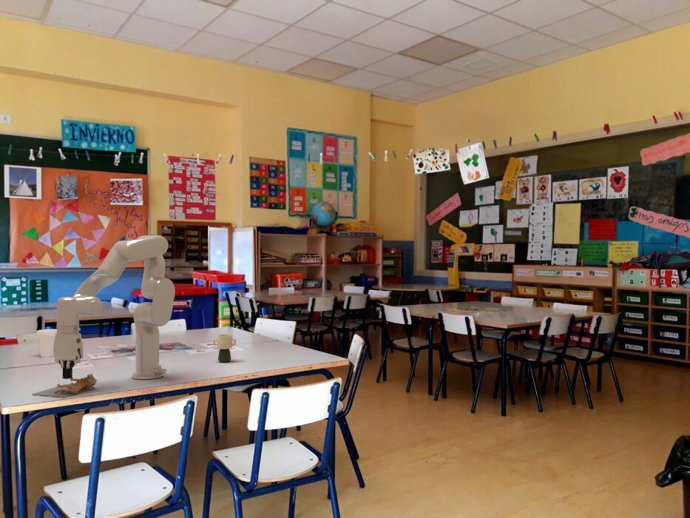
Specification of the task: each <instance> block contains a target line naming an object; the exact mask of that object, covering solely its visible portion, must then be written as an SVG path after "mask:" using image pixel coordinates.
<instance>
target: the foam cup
mask: <svg viewBox="0 0 690 518" xmlns="http://www.w3.org/2000/svg"><path fill="white" fill-rule="evenodd" d="M56 333H57V328H55V329H54V328H47V329H39V330H36V337H37V338H36V339H37V346H38V351H39V357H40V356H41V357H40V358H51V357H50V356H53V357H54V354H53V350H54V340H55V335H56Z"/></svg>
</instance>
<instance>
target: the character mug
mask: <svg viewBox="0 0 690 518" xmlns="http://www.w3.org/2000/svg"><path fill="white" fill-rule="evenodd" d="M212 342H213V346H217V347H216V348H217V349H219V351H218V356H217V357H218V358H217V361H219V362H221V363H223V362H224V363H225V362H227V363H228V362H229V361H232V355H231V350H230V349H231V348H232V347H233V346H237V338H233V335H232V334H230V333H222V334H217V337H216V338H213V340H212Z"/></svg>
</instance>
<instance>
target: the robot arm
mask: <svg viewBox="0 0 690 518" xmlns="http://www.w3.org/2000/svg"><path fill="white" fill-rule="evenodd" d="M168 248H169V243H168V240H167V239H166V238H165V237H164V236H162V235H159V234H158V235H156V234H155V235H141V236H139V237H137V238H136V239H135V240H134V239H133V240H132V239H131V240H120V241H117V242H115V243H114V245H113V246H112V247H111V249H110V250H109V251H108V253H107V255H106V256H105V258H104V259H103V261H102V262H101V263H100V265H99V267H98V268H97V269H96V270H95V271H94V272H93V273H92V274H91V275H89V276H88V278H86V279H85V280H84V281H83V282H82V283H81V284H80V285H79V287H78V288H77V290H76V291H75V293H74V294H73V295H72V296H66V297H65V296H63V297H59V298H58V299H57V301H56V330H57V333H56V335H55V340H54V350H53V354H54V356H53V359H54V362H55V363H58V365H60V368H61V369H62V379H63V380H70V378H72V377H73V368H74V367H75V366H76V365H77V364H80V363H82V362H81V361H82V360H81V359H83V357H84V347H83V345H84V344H83V338H82V334H81V333H80V331H81V329H82V328H81V327H80V316H89V317H90V316H95V315H98V314H99V313H100V312H101V311H102V309H103V301H102V300H101V299H100V298H99V297H97V296H96V295H97V294H98V293H99V292H101V290H103V289H104V288H106V287H109V286H110V285H113V284H114V283H116V282H118V280H119V278H121V277H120V276H121V275H122V274H123V272H124V271H125V269H126V267H127V266H128V264H129V263H130V262H139V261H143V263H144V267H143V268H144V269H143V275H142V280H141V286H140V293H141V295H142V296H143V298H145V299H148V300H152V302H150V301H149V302H148V301H147V302H142V303H138V304H137V306H135V308H134V310H133V322H134V328H135V372H134V373H132V374H131V378H132V379H135V380H153V379H158V378H161V377H163V376H164V375H166V373H167V368H162V365H161V364H160V329H159V327H164V326H166V325H167V324H168V323H169V322H170V320H171V318H172V313H173V307H174V302H175V294H176V289H175V285H174V282H173V281H172V280H170V279H169V278H166V277H165V272H166V261H165V258H164V256H163V255H164V254H165V253H167V250H168Z"/></svg>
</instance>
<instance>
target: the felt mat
mask: <svg viewBox="0 0 690 518" xmlns="http://www.w3.org/2000/svg"><path fill="white" fill-rule="evenodd" d="M63 385H67V384H63ZM94 388H95V386H92V387H90V388H87V389H81V390H79V391H78V392H77V393H67V392H61V391H59V392H58V393H56V394H55V392H56V391H58V390H61V389H69V388H67V387H63V388H60V387H57V386H54V387H50V388H48V389H44V390H41V391H39V392H35V393H32V394H31V395H32V396H37V395H40V396H39V397H48V396H52V397H51V398H59V397H61V398H60V399H64V398H68V397H71V396H73V395H76V394H79V393H82V392H86V391H88V390H91V389H94ZM69 390H70V389H69Z"/></svg>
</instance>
